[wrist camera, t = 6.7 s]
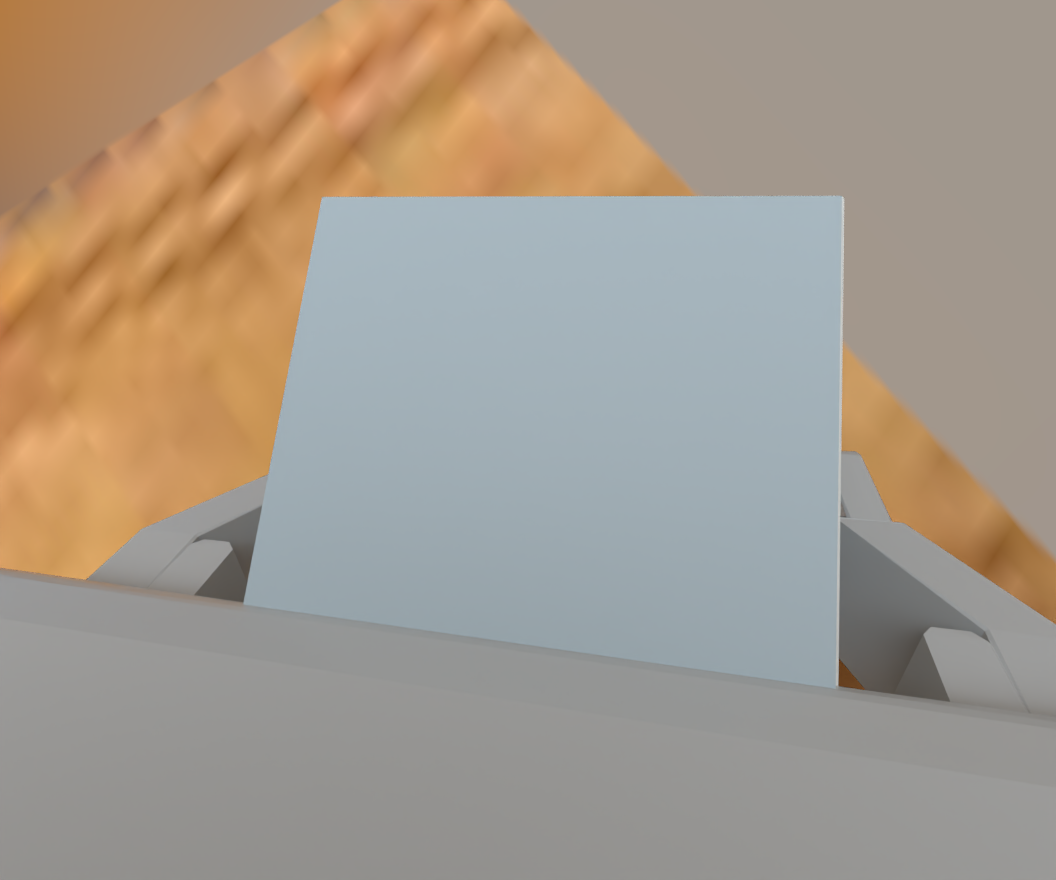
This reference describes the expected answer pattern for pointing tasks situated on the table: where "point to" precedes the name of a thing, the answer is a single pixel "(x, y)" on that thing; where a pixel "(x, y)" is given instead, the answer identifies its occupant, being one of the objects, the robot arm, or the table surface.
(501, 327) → the carton
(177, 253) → the table surface
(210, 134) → the table surface
